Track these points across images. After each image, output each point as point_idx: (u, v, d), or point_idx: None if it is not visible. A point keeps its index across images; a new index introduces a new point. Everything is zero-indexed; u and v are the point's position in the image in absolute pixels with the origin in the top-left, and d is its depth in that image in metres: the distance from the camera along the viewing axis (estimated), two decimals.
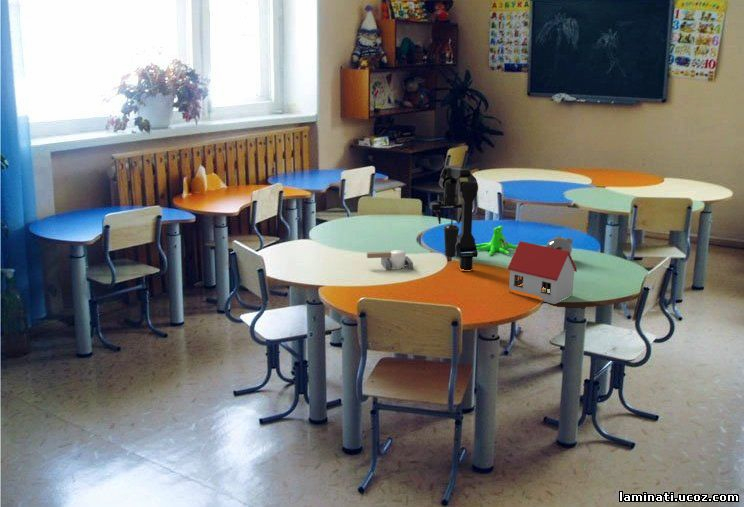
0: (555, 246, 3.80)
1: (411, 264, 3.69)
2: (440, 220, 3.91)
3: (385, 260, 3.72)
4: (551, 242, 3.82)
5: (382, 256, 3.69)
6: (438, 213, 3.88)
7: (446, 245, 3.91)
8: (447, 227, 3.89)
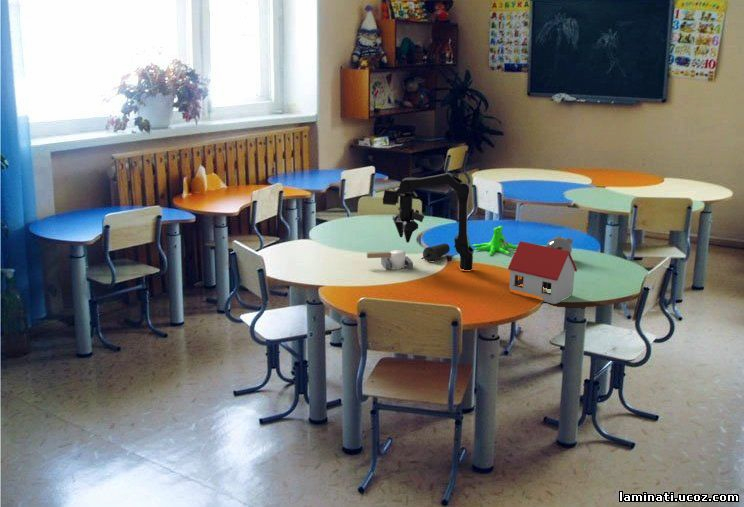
0: (555, 246, 3.80)
1: (411, 264, 3.69)
2: None
3: (385, 260, 3.72)
4: (551, 242, 3.82)
5: (382, 256, 3.69)
6: (395, 224, 3.76)
7: None
8: None
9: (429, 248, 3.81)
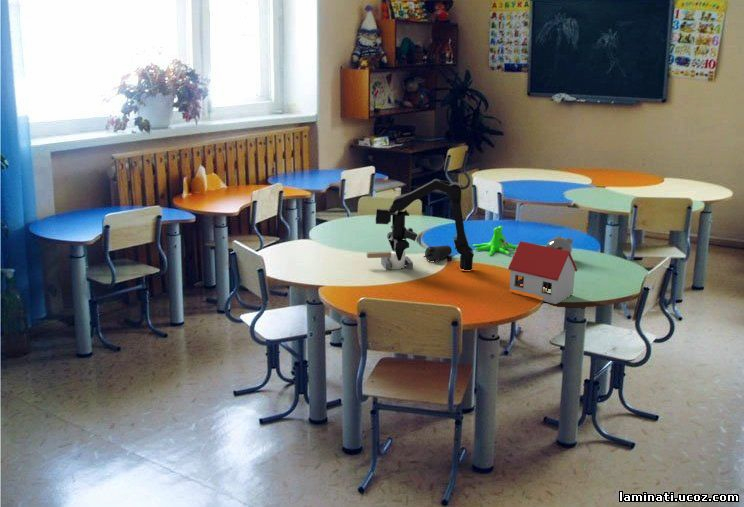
0: (555, 246, 3.80)
1: (411, 264, 3.69)
2: None
3: (385, 260, 3.72)
4: (551, 242, 3.82)
5: (382, 256, 3.69)
6: None
7: None
8: (430, 260, 3.82)
9: (433, 248, 3.80)
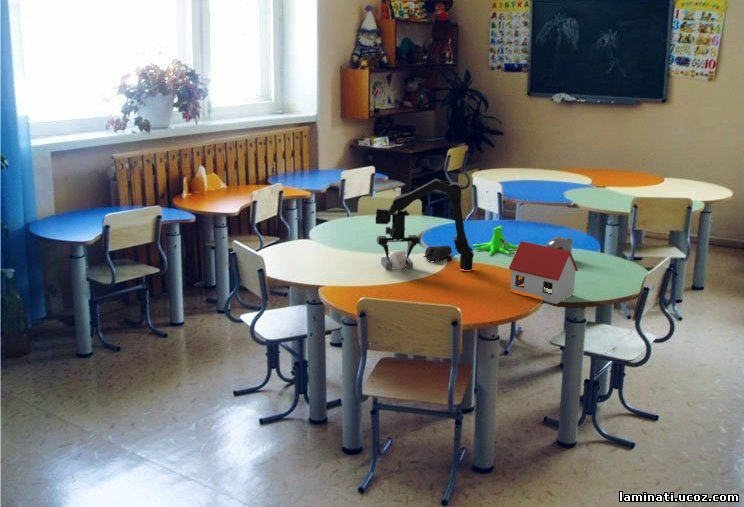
0: (555, 246, 3.80)
1: (411, 264, 3.69)
2: None
3: (385, 260, 3.72)
4: (551, 242, 3.82)
5: None
6: (385, 247, 3.66)
7: None
8: (430, 260, 3.82)
9: (433, 248, 3.80)
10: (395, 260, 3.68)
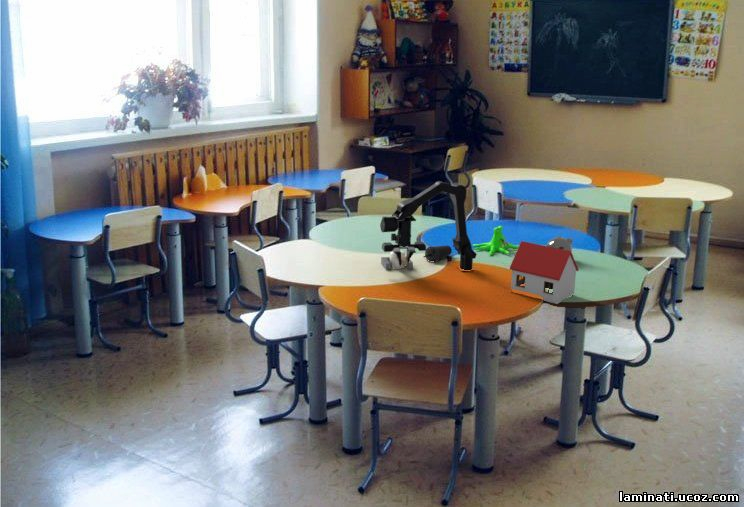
0: (555, 246, 3.80)
1: (411, 264, 3.69)
2: None
3: (385, 260, 3.72)
4: (551, 242, 3.82)
5: None
6: (398, 254, 3.56)
7: None
8: (430, 260, 3.82)
9: (433, 248, 3.80)
10: (395, 260, 3.68)
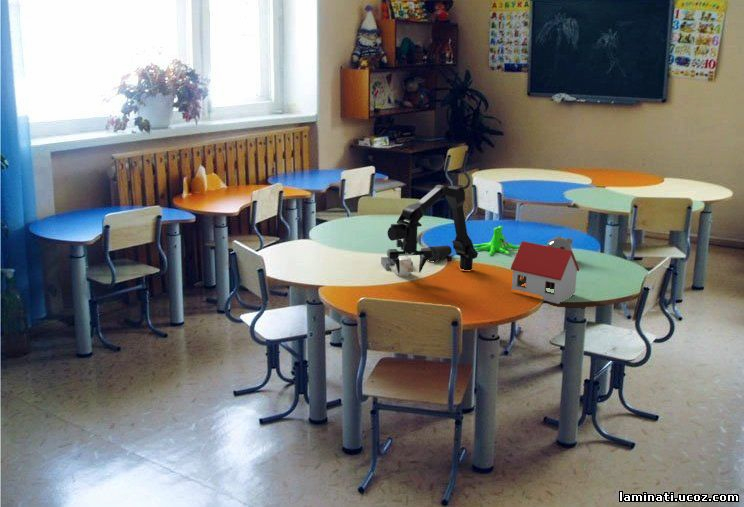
0: (555, 246, 3.80)
1: (411, 264, 3.69)
2: (399, 269, 3.48)
3: (385, 260, 3.72)
4: (551, 242, 3.82)
5: None
6: (397, 261, 3.45)
7: None
8: (430, 260, 3.82)
9: (433, 248, 3.80)
10: (401, 267, 3.58)
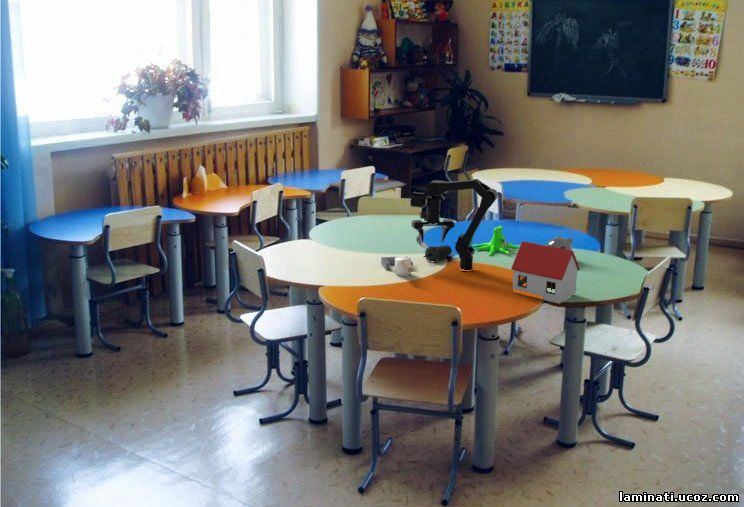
0: (555, 246, 3.80)
1: (411, 264, 3.69)
2: (423, 238, 3.70)
3: (385, 260, 3.72)
4: (551, 242, 3.82)
5: None
6: (421, 231, 3.68)
7: None
8: (430, 260, 3.82)
9: (433, 248, 3.80)
10: (401, 267, 3.58)
